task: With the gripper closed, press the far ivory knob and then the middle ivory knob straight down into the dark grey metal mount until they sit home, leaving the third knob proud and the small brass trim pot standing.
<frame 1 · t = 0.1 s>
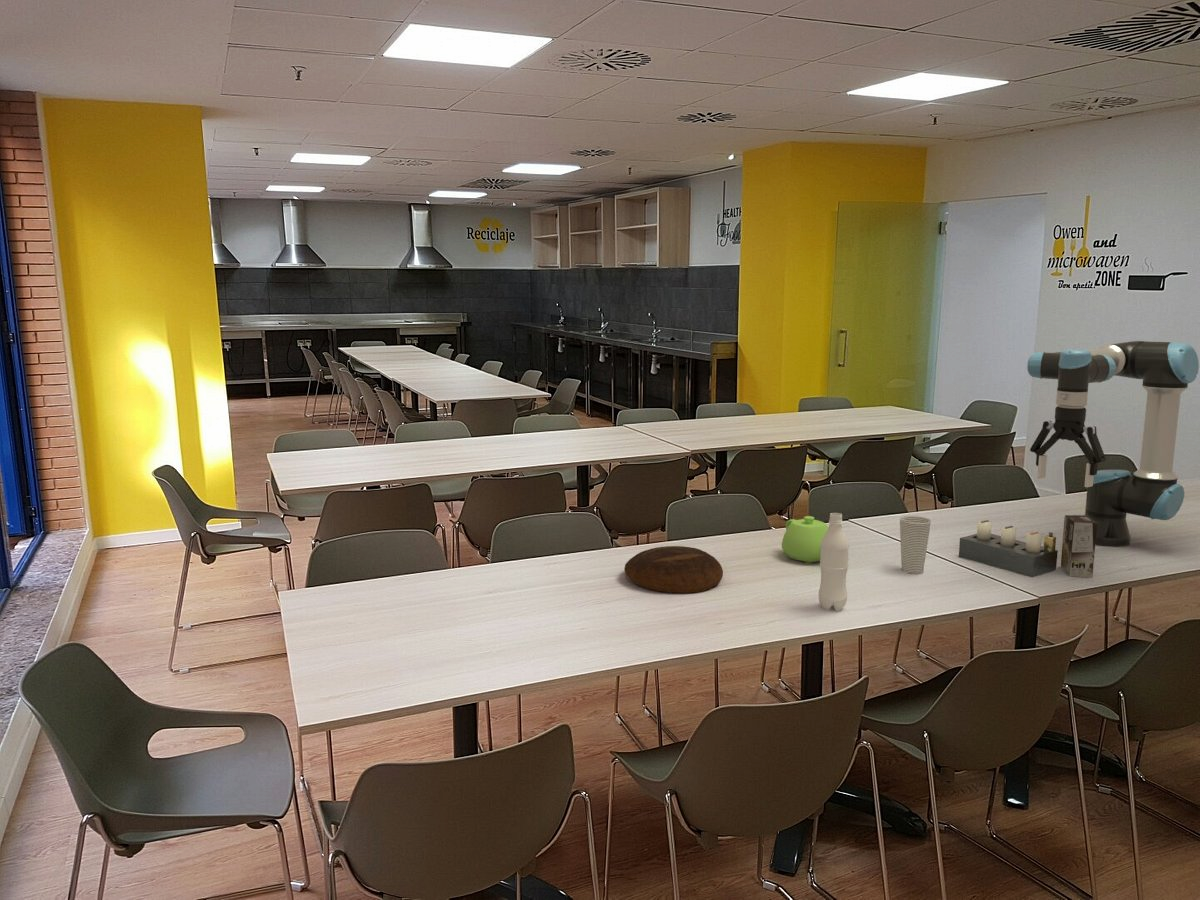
hand: (1064, 482, 249), 28 cm above the table, fingers open, 13 cm apart
knob b: (1008, 537, 267), point 8 cm above the table, slide at 0.0 cm
cup: (912, 571, 262), on the table
knob c: (1033, 544, 260), point 8 cm above the table, slide at 0.0 cm
water bottle: (832, 608, 233), on the table
bread: (672, 579, 257), on the table
mount: (1006, 563, 268), on the table
coffee box: (1076, 573, 259), on the table
teapot: (810, 559, 274), on the table
knob a: (984, 531, 273), point 8 cm above the table, slide at 0.0 cm
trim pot: (1049, 550, 261), point 6 cm above the table, touching mount
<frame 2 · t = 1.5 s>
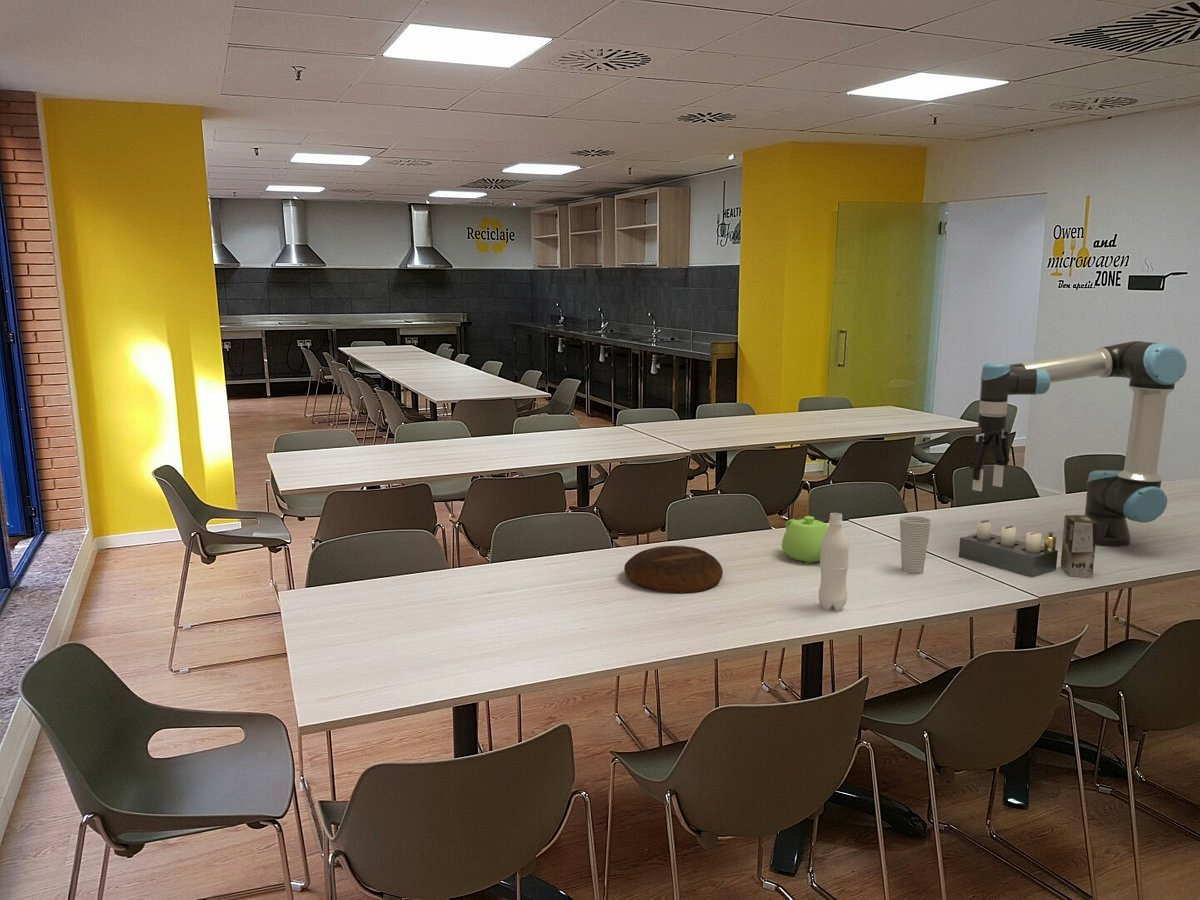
hand: (987, 488, 271), 22 cm above the table, fingers open, 9 cm apart
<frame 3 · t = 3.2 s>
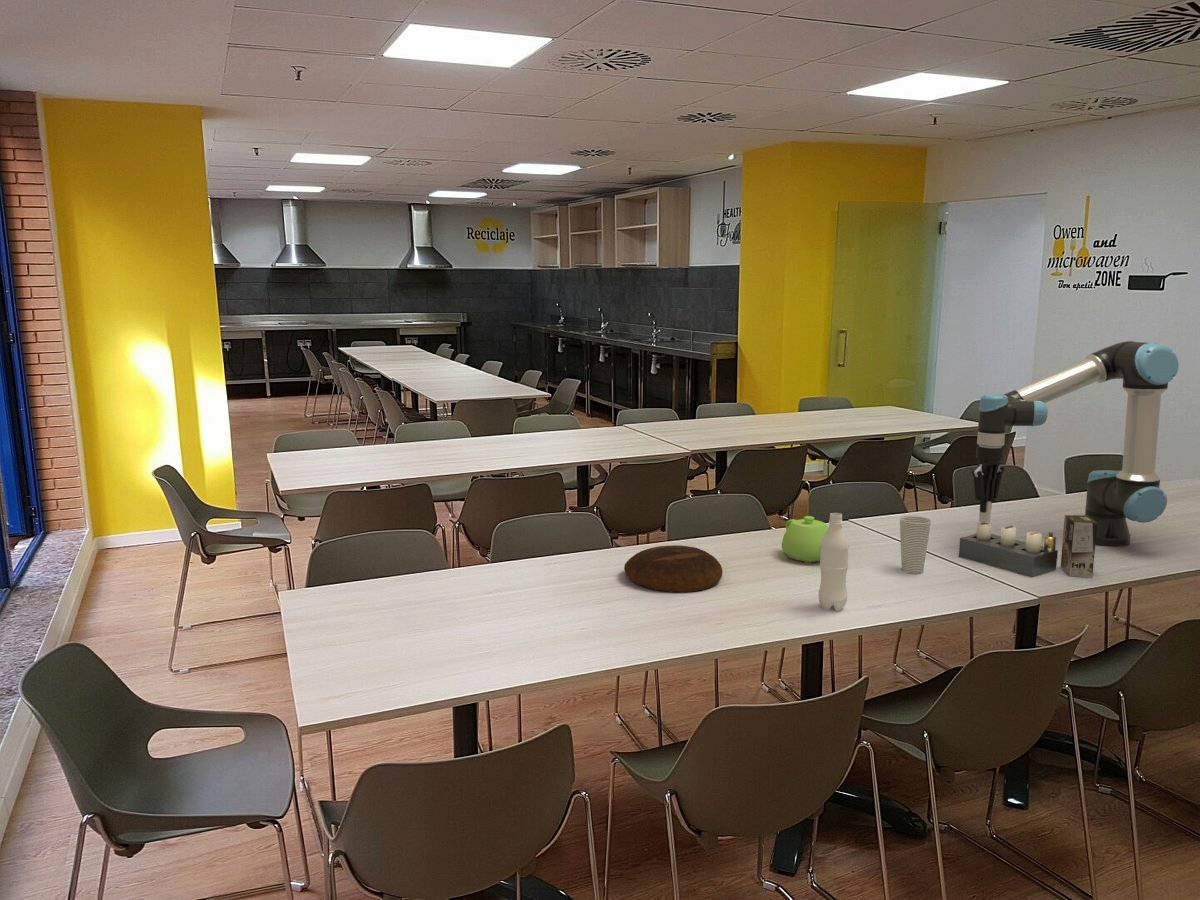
hand: (984, 522, 273), 11 cm above the table, fingers closed
knob a: (983, 533, 273), point 7 cm above the table, slide at -0.6 cm, touching gripper
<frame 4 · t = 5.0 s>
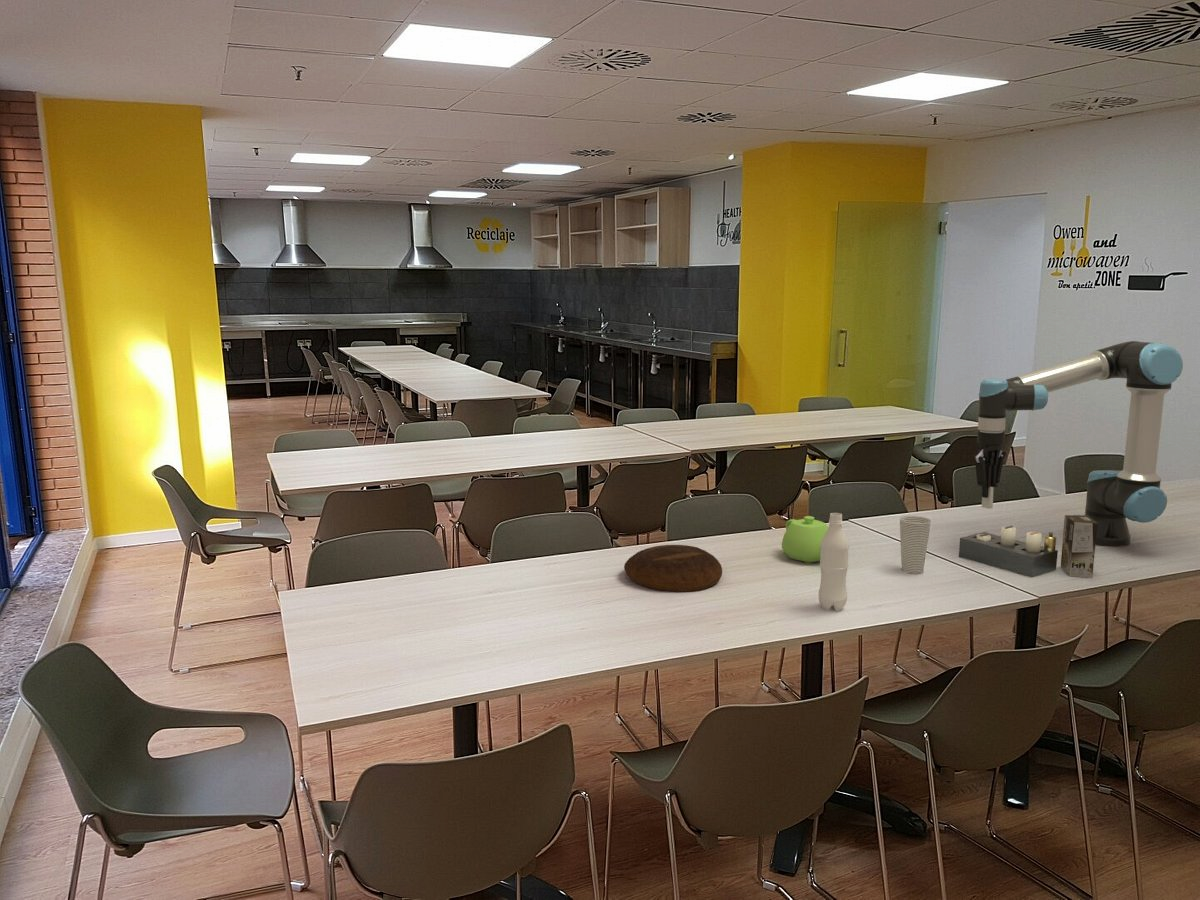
hand: (987, 507, 272), 16 cm above the table, fingers closed
knob a: (983, 545, 274), point 4 cm above the table, slide at -4.3 cm
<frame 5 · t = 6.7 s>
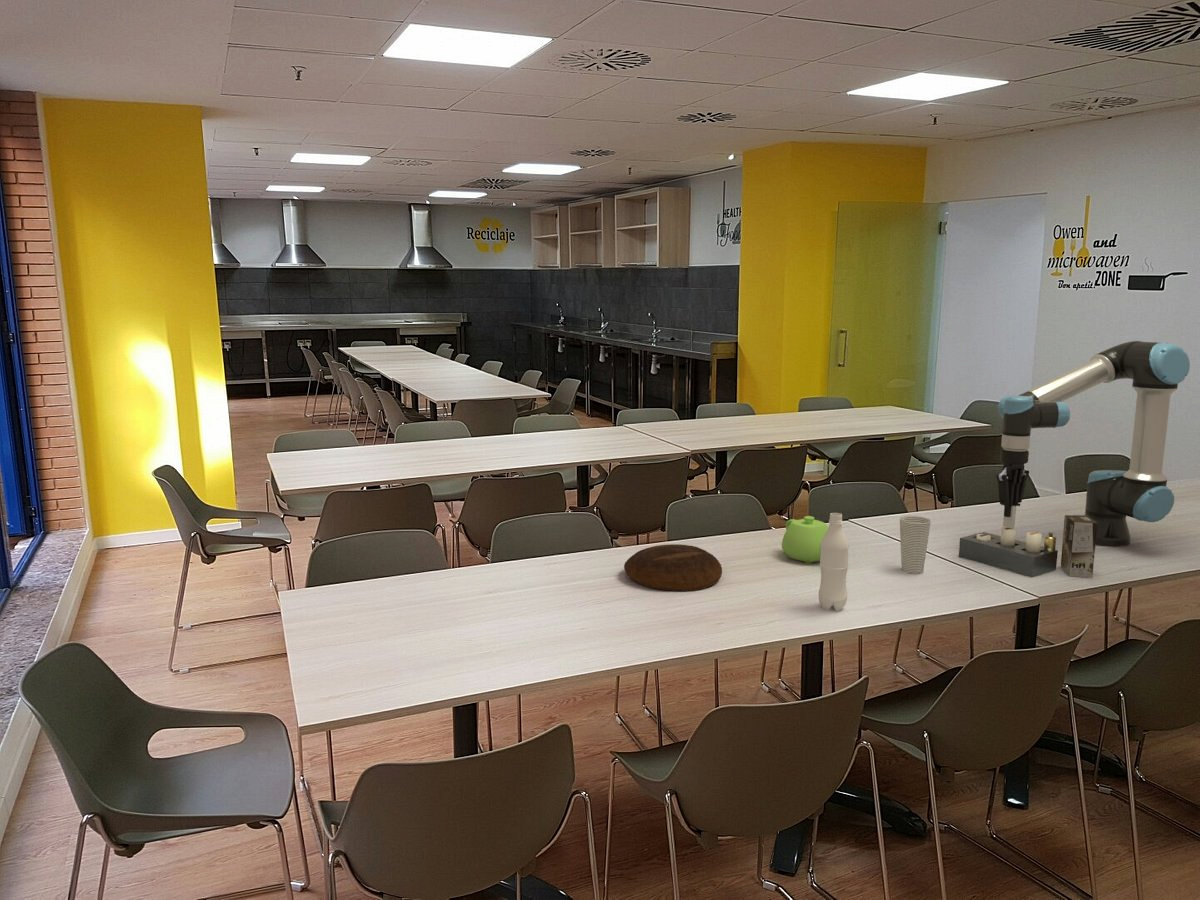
hand: (1008, 526, 266), 11 cm above the table, fingers closed
knob b: (1008, 538, 267), point 8 cm above the table, slide at -0.3 cm, touching gripper
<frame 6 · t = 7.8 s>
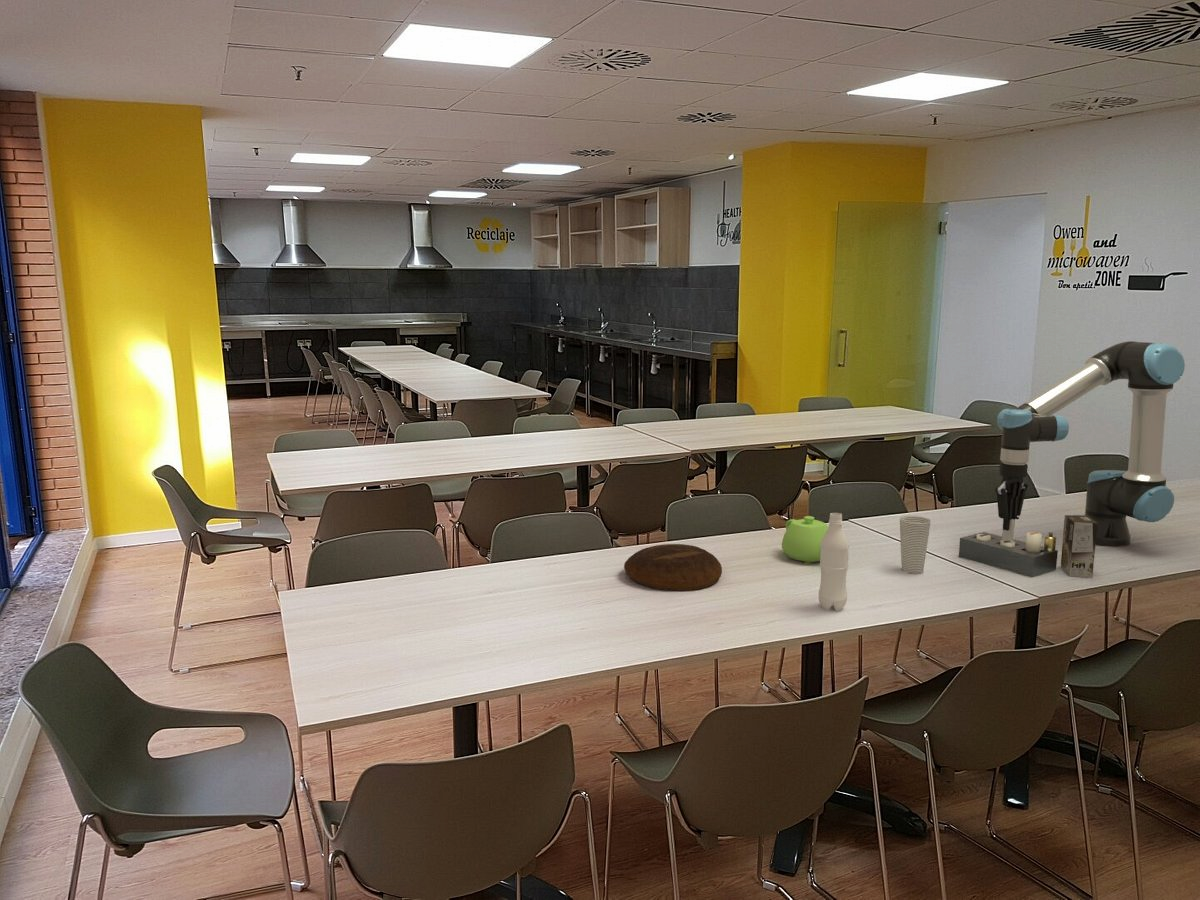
hand: (1007, 540, 267), 7 cm above the table, fingers closed
knob b: (1007, 551, 268), point 4 cm above the table, slide at -4.3 cm, touching gripper
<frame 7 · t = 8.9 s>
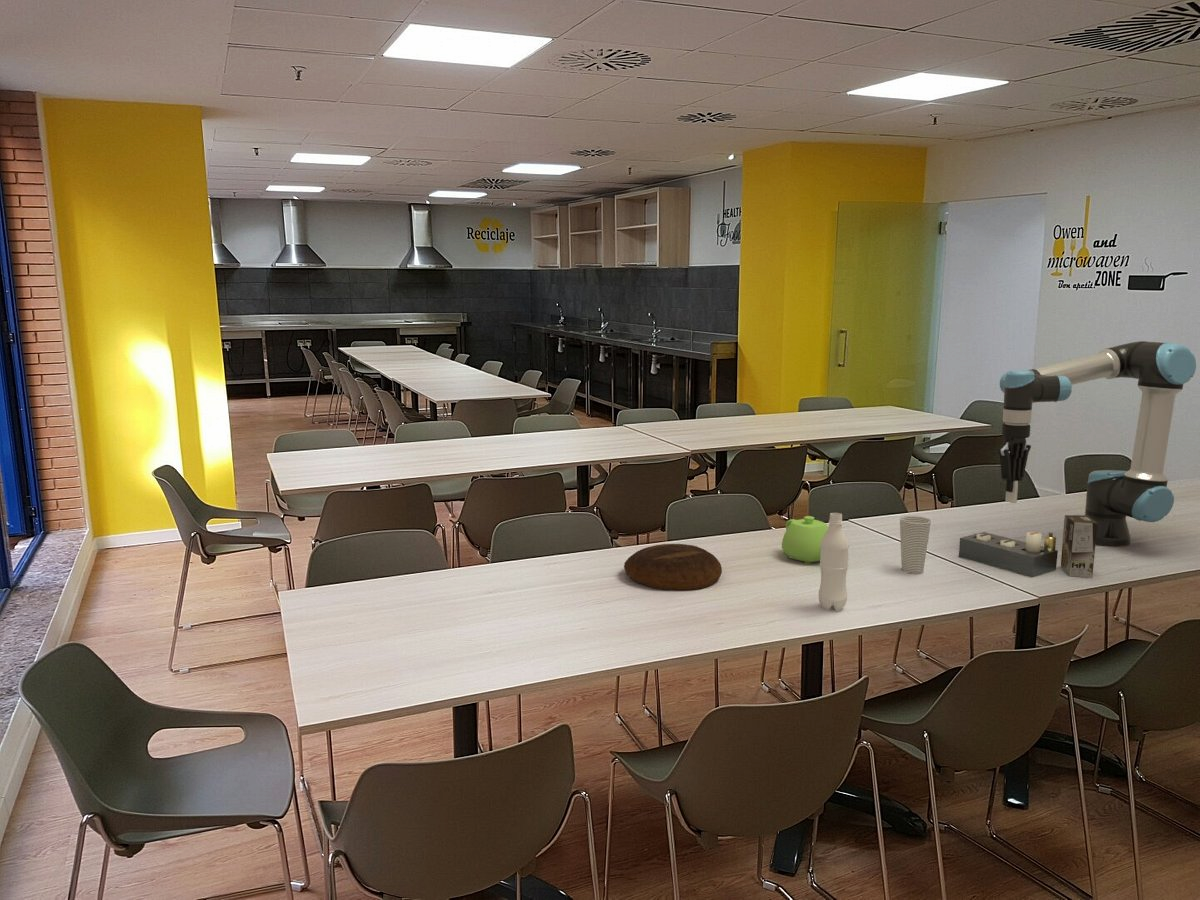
hand: (1011, 501, 265), 19 cm above the table, fingers closed
knob b: (1007, 551, 268), point 4 cm above the table, slide at -4.3 cm
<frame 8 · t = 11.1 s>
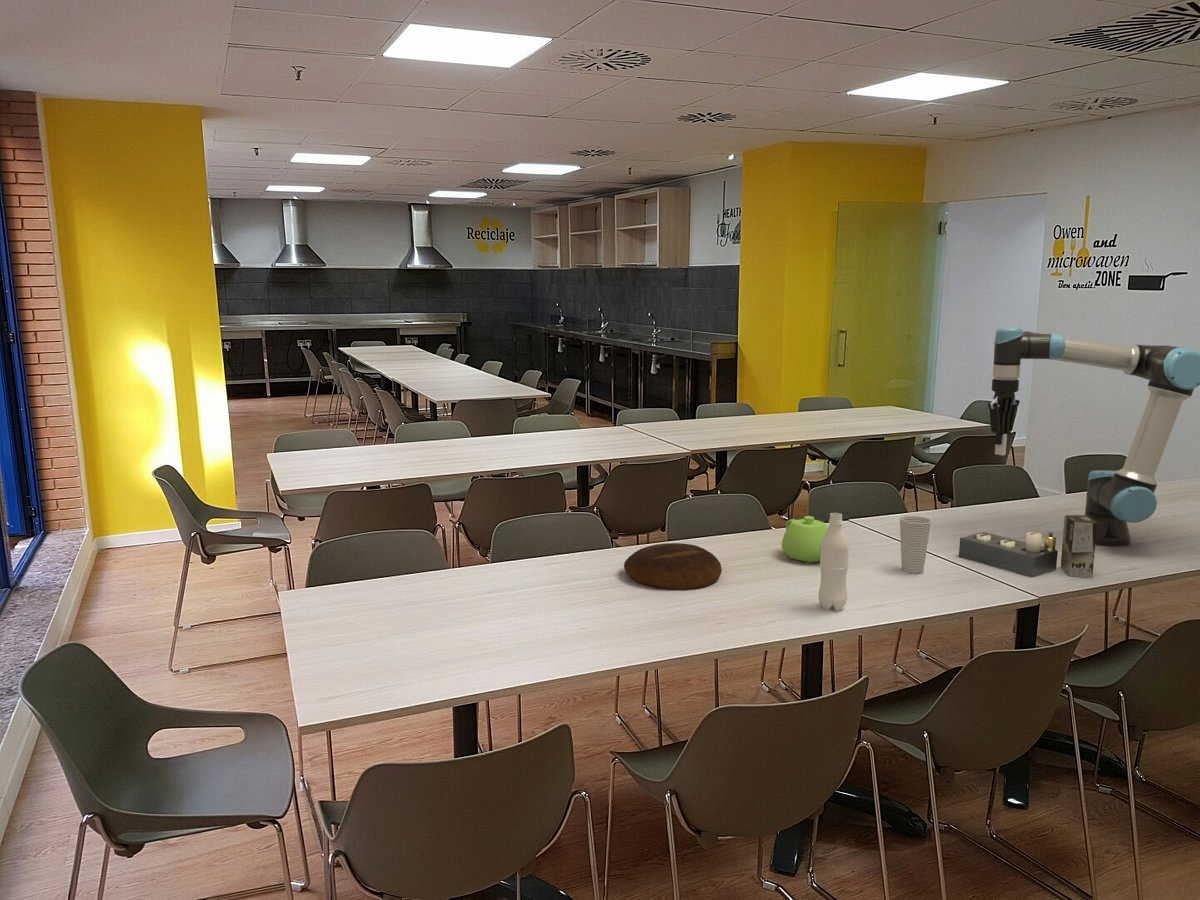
hand: (1000, 454, 277), 30 cm above the table, fingers closed
at the end: knob a slide at -4.3 cm; knob b slide at -4.3 cm; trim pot tilted 0° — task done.
